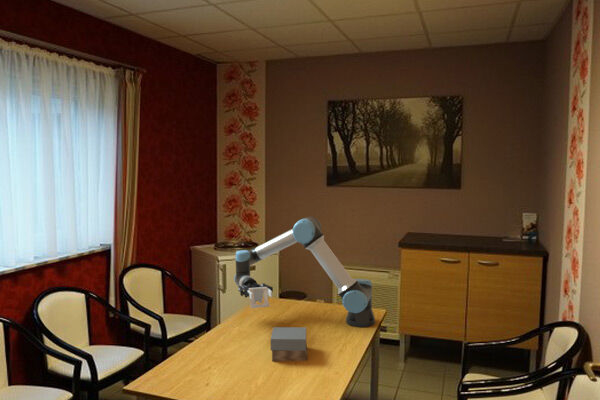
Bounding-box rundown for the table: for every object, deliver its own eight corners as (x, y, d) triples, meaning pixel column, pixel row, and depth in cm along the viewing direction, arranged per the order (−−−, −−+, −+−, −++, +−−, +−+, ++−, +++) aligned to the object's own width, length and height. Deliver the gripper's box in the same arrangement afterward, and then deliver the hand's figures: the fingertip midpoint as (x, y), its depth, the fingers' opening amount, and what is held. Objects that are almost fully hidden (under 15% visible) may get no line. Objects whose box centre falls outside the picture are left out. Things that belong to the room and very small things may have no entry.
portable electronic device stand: (251, 308, 229) (250, 291, 228) (248, 304, 237) (248, 287, 236) (269, 307, 231) (269, 289, 231) (265, 302, 239) (265, 285, 238)
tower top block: (306, 338, 223) (306, 327, 223) (305, 350, 208) (305, 339, 208) (273, 337, 224) (273, 327, 223) (270, 350, 209) (270, 339, 208)
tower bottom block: (305, 348, 224) (305, 337, 224) (307, 361, 209) (307, 350, 209) (272, 349, 223) (272, 338, 223) (272, 362, 208) (272, 351, 208)
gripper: (268, 289, 255) (283, 300, 234) (227, 294, 246) (239, 306, 226) (268, 275, 254) (283, 285, 233) (227, 279, 246) (239, 290, 225)
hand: (261, 295), depth 229 cm, fingers closed on portable electronic device stand, 9 cm apart
